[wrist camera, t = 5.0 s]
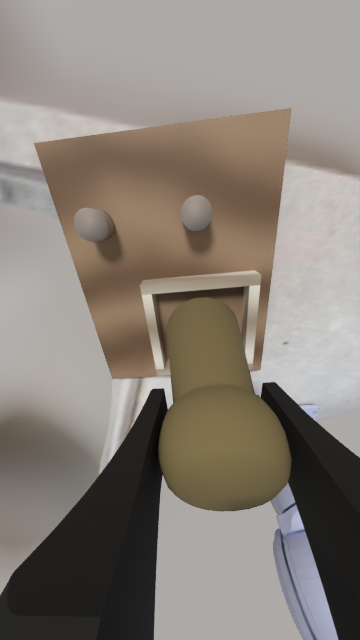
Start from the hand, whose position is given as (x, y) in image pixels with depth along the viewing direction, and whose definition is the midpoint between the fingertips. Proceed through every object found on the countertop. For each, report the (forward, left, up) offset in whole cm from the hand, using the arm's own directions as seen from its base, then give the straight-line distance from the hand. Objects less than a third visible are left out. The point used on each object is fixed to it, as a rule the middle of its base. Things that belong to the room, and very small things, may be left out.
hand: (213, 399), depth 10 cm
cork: (0, 0, -7) cm, 7 cm away
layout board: (+4, +2, -10) cm, 11 cm away
